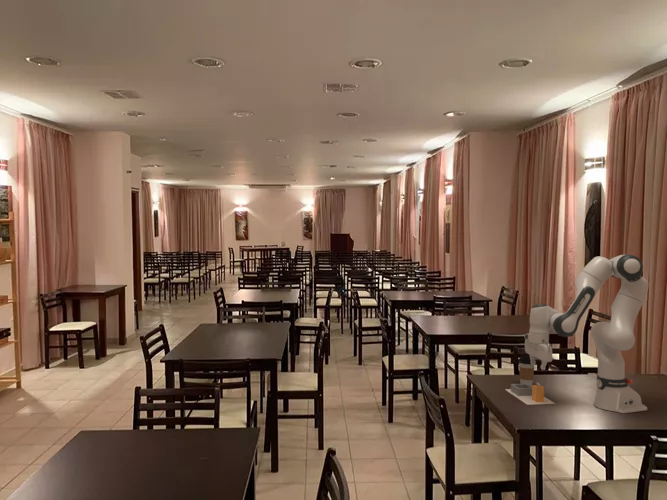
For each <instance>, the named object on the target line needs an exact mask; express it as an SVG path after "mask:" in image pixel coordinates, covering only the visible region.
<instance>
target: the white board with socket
mask: <svg viewBox="0 0 667 500" xmlns="http://www.w3.org/2000/svg"><path fill="white" fill-rule="evenodd" d="M504 390H505V391H506V392H508V393H509V394H511V395H512V396H514V397H515V398H517V399H518V400H520V401H521V402H523V403H524V404H526V405H527V406H529V405H532V406H533V405H553V404H554V405H555V404H556V403H555V402H554V401H552V400H550V399H549V398H547V397H545V396H544V402H535V401H534V400H532V386H530V385H528V384H520V383H510V388H509V389H507V388H505V389H504Z"/></svg>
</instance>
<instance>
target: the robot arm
mask: <svg viewBox="0 0 667 500" xmlns="http://www.w3.org/2000/svg"><path fill="white" fill-rule="evenodd" d="M643 268H644V267H643V262H642V260H641V259H640V258H639V256H636V255H633V254H620V255H617V256H613V257H611V258H609V259H608V258H606V257H604V256H601V255H600V256H595V257H593V258H592V259H591V260H590V261H589V262H588V263H587V264H586V265H585V266H584V267H583V268H582V269H581V271H580V272H579V274H578V275H577V276H576V279H575V280H574V288H575V290H576V296H575V298H574V300H573V302H572V303H571V305H570V307H569V308H568V309H567V311H566V312H562V311H559V310H556V309H555V308H553V307H551V306H549V304H547V303H539V304H535V305H532V307H531V308H530V313H529V325H530V326H529V330H528V331H529V332H527V333H525V334H524V335H523V336H524V339H525V340H524V351H525V353H526V354H528V355H529V357H530V360H531V364H532V365H534V366H535V365H536V364H537V363H536V360H535V359H538V360H540V362H541V365H540V366H539V367H540V369H541V371H545V370H546V366H547V364H548V363H551V362H552V361H553V347H552V346H551V344H550V342H549V341H550V331H552V332H554V333H556V334H557V335H559V336H560V337H562V338H569V337H572V336H574V335H575V333H576V332H577V331H578V327H579V324H580V320H581V319H582V317H583V315H584V314H585V312H586V311H587V309H588V308H589V306H590V304H591V303H592V301H593V299H594V298H595V296H596V294H597V293H598V292H599V290H600V289H601V288H602V286H603V285H604V284H605V282H606V281H607V280H608V279H609V278H610V277H612V278H615V279H620V280H621V281H620V282H621V285H620V289H619V290H618V292H617V294H616V295H615V298H614V299H613V302H612V304H611V307H610V311H611V315H610V316H611V317H610V321H598V322H595V323H594V324H592V326H591V328H590V335H591V337H592V338H593V342H594V345H595V349H596V355H597V356H596V357H597V375H596V393H595V397H594V398H595V399H594V401H593V406H595V407H596V408H599V409H601V410H605V411H610V412H616V413H620V414H629V413H635V412H636V413H638V412H645V411H648V406H646V405H645V404H643V403H642V397H641V395H640V394H639V393H638V392H637V391H635V390H634V389H633V388H631V386H629V385H633V383H634V381H633V380H632V379H630V378H626V376H625V373H626V372H625V370H626V369H625V367H626V366H625V365H626V362H625V359H624V357H623V355H622V352H621V351H629V350H631V349H632V348H633V347H634V345H635V343H636V338H635V334H634V329H635V323H636V319H637V316H638V314H639V312H640V311H641V308H642V306H643V303H644V301H645V299H646V296H647V294H648V290H649V285H650V284H649V281H648V280H647V279H646V278H645V277H643V276H644V272H643Z"/></svg>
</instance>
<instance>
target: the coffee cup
mask: <svg viewBox="0 0 667 500" xmlns="http://www.w3.org/2000/svg"><path fill="white" fill-rule="evenodd" d="M517 362H518V365H519V366H518V369H519V370H518V371H519V372H518V373H519V384H528V385H530V386H531V387H532V385H533V381H534V374H535V373H534V371H535V365H532V364H531V360H530V356H520V357H519V359H518V361H517Z"/></svg>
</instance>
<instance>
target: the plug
mask: <svg viewBox="0 0 667 500" xmlns="http://www.w3.org/2000/svg"><path fill="white" fill-rule="evenodd" d="M531 387H532V400H534V401H535V402H544V397H545V387H544V386H543V385H541V384H540V383H539V382H536V384H532V386H531Z"/></svg>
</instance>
